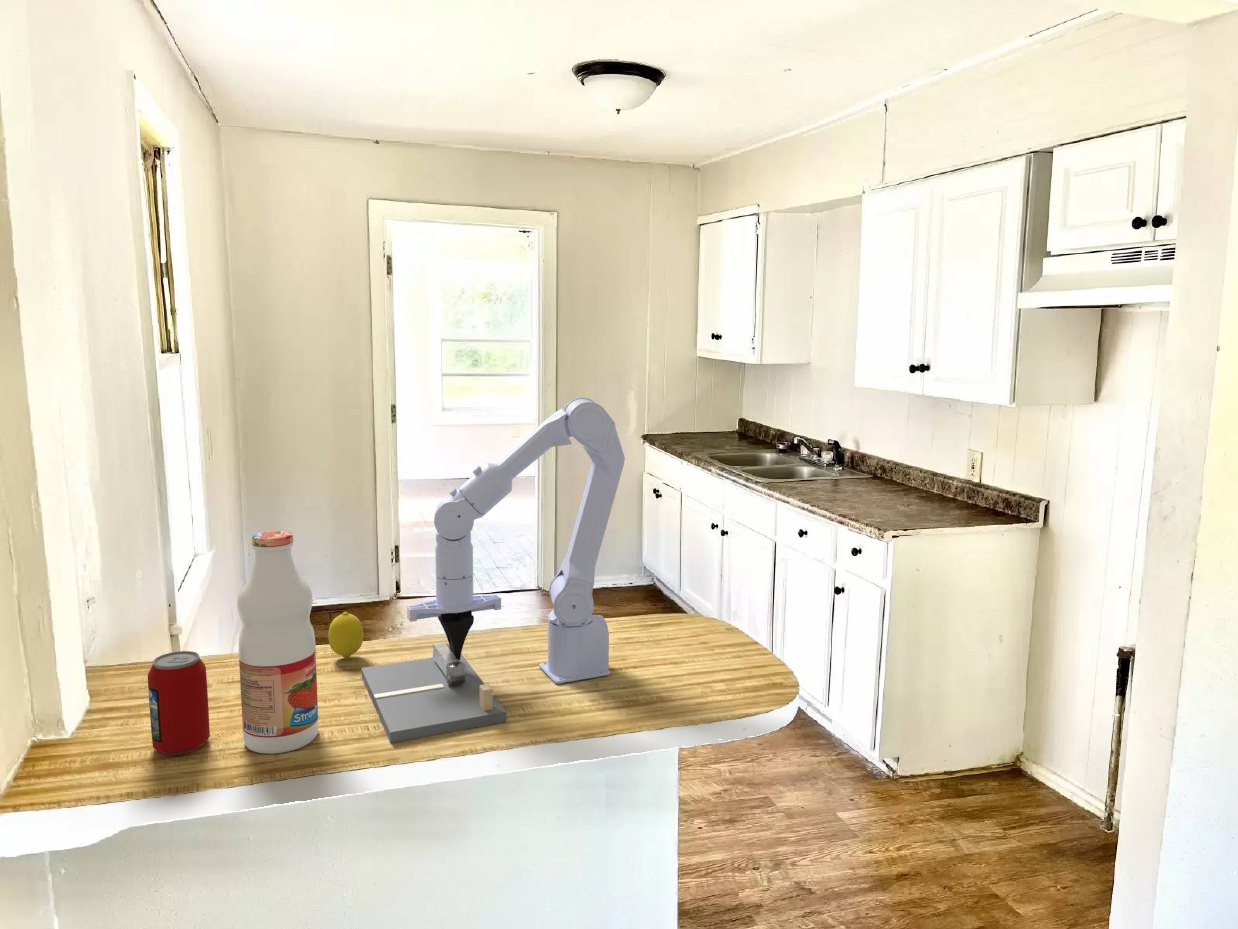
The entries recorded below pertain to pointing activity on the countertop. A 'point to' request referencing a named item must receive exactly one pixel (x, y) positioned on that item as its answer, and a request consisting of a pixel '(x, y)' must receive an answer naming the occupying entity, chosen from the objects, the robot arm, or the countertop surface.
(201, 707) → the beverage can
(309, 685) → the fruit juice
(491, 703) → the plate
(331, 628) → the lemon
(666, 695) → the countertop surface
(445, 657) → the lock bar
